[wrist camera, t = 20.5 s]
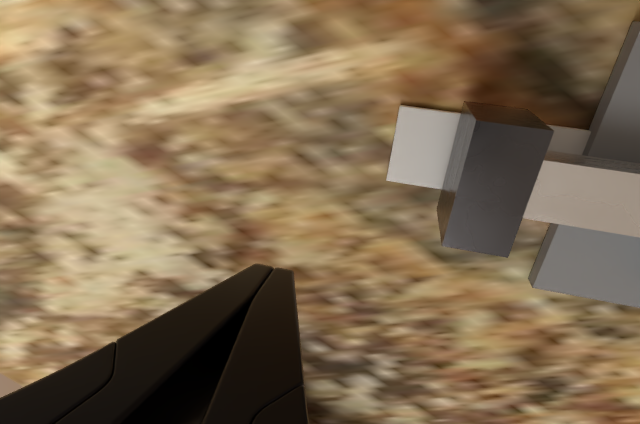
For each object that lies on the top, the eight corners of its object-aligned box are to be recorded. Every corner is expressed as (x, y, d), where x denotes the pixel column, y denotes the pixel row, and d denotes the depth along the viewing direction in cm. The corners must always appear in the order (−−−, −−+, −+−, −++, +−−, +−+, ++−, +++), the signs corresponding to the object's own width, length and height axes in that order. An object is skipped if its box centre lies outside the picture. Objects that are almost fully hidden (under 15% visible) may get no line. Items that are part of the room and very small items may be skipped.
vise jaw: (846, 90, 14) (967, 111, 11) (709, 295, 18) (768, 351, 15) (477, 49, 16) (493, 57, 13) (427, 245, 20) (431, 286, 17)
